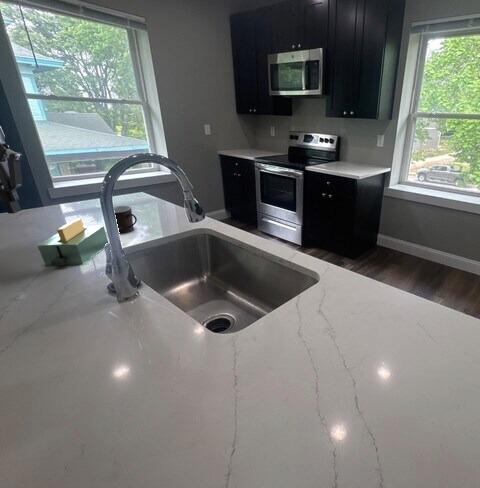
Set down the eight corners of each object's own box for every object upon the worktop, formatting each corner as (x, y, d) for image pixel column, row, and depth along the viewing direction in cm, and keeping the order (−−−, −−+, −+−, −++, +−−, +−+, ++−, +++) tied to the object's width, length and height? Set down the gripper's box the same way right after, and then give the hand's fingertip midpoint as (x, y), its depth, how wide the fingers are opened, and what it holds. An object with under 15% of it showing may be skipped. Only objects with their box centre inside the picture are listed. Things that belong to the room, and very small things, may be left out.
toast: (67, 260, 98) (56, 229, 94) (85, 247, 107) (76, 218, 103) (73, 259, 99) (62, 229, 94) (90, 246, 108) (81, 218, 103)
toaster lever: (51, 265, 92) (50, 261, 92) (56, 261, 95) (55, 258, 94) (62, 264, 93) (61, 261, 92) (67, 261, 95) (66, 257, 94)
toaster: (46, 267, 95) (37, 245, 92) (77, 246, 110) (70, 226, 106) (83, 266, 97) (76, 244, 93) (109, 245, 111) (103, 225, 108)
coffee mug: (109, 231, 123) (102, 208, 118) (132, 226, 128) (127, 204, 124) (118, 240, 116) (111, 216, 111) (142, 234, 121) (136, 211, 117)
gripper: (19, 124, 80) (49, 207, 90) (-38, 121, 78) (-1, 207, 88) (-5, 126, 73) (30, 216, 83) (-68, 123, 71) (-24, 216, 81)
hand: (14, 211), depth 85 cm, fingers closed
